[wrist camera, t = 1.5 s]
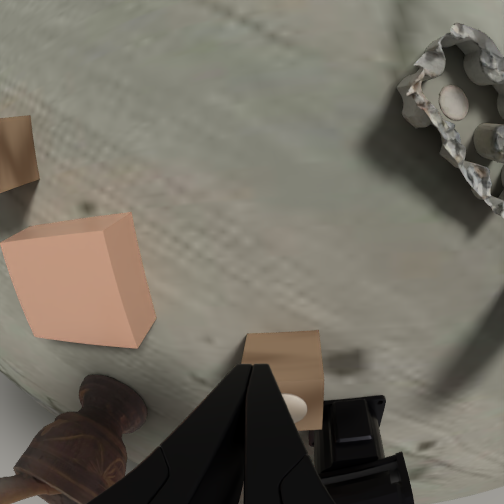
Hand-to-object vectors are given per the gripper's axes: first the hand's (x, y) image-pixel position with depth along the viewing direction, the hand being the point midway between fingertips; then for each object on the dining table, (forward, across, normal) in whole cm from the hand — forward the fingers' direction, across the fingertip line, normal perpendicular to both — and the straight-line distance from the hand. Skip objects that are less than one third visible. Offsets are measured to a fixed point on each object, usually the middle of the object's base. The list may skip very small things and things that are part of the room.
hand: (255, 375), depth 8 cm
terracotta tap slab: (+12, +14, +2) cm, 19 cm away
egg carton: (+12, -13, -7) cm, 19 cm away
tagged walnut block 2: (+12, 0, +10) cm, 16 cm away
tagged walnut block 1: (+12, +19, -8) cm, 24 cm away
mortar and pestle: (+12, +18, +15) cm, 27 cm away
